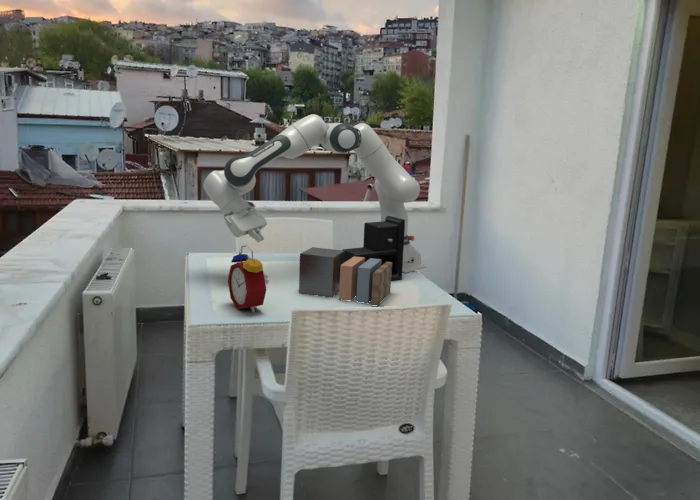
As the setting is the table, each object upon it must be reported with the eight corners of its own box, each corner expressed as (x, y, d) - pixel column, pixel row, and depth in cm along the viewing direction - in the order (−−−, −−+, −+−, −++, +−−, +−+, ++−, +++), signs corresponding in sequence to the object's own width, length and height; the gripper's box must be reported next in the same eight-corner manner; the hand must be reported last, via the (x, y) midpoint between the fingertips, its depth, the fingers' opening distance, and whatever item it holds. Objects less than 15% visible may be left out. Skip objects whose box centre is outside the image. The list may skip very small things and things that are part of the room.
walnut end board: (384, 291, 200) (386, 261, 198) (390, 292, 199) (392, 262, 197) (371, 305, 183) (373, 273, 181) (377, 306, 182) (379, 273, 180)
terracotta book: (352, 289, 202) (354, 256, 199) (363, 290, 201) (364, 257, 198) (339, 300, 188) (340, 265, 185) (350, 302, 187) (352, 266, 184)
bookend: (350, 286, 205) (353, 222, 200) (335, 279, 214) (338, 217, 209) (402, 280, 217) (406, 219, 212) (386, 273, 226) (389, 215, 221)
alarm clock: (227, 303, 179) (227, 241, 175) (252, 299, 184) (252, 239, 180) (247, 316, 167) (247, 250, 163) (273, 312, 172) (274, 248, 168)
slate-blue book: (368, 291, 200) (370, 258, 198) (379, 292, 199) (381, 259, 196) (356, 302, 186) (358, 267, 184) (368, 304, 185) (369, 268, 182)
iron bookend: (311, 284, 205) (312, 247, 202) (343, 289, 201) (344, 250, 198) (298, 293, 193) (299, 253, 190) (331, 298, 190) (333, 257, 187)
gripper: (227, 208, 191) (253, 240, 190) (255, 202, 210) (279, 230, 209) (215, 220, 193) (241, 251, 192) (244, 213, 212) (267, 241, 211)
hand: (261, 240), depth 201 cm, fingers closed
